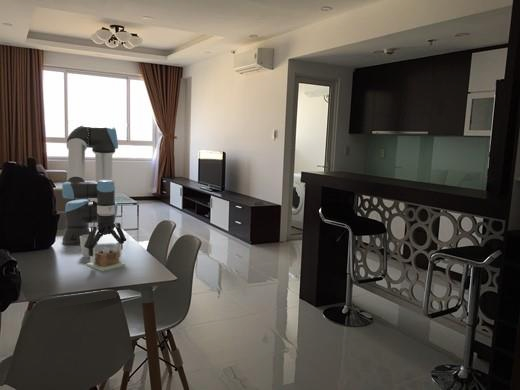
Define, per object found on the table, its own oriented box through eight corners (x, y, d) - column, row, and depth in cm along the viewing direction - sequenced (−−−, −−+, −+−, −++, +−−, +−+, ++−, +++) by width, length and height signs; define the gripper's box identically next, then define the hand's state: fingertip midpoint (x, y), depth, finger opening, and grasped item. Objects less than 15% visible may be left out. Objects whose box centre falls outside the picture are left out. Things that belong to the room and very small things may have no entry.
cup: (91, 259, 205) (91, 238, 204) (76, 257, 207) (76, 237, 206) (100, 254, 213) (100, 235, 212) (86, 253, 215) (86, 233, 214)
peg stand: (86, 265, 195) (86, 247, 194) (109, 260, 205) (109, 243, 204) (102, 271, 188) (102, 252, 187) (125, 265, 198) (125, 247, 197)
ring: (93, 262, 195) (93, 252, 195) (108, 259, 202) (108, 249, 201) (103, 266, 191) (103, 255, 190) (119, 262, 197) (119, 252, 196)
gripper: (85, 218, 181) (85, 267, 184) (134, 212, 201) (133, 255, 204) (75, 216, 186) (76, 263, 188) (124, 210, 206) (124, 252, 208)
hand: (106, 259), depth 196 cm, fingers open, 13 cm apart
